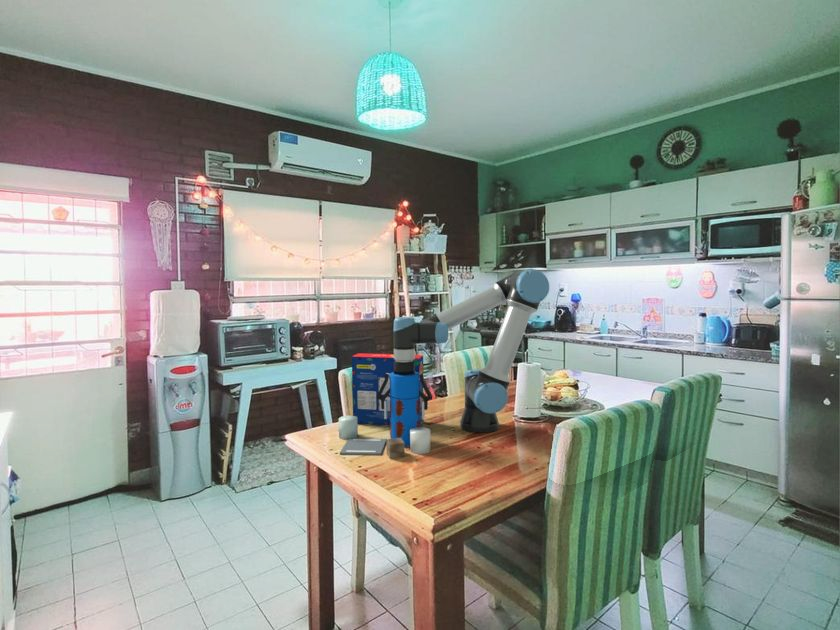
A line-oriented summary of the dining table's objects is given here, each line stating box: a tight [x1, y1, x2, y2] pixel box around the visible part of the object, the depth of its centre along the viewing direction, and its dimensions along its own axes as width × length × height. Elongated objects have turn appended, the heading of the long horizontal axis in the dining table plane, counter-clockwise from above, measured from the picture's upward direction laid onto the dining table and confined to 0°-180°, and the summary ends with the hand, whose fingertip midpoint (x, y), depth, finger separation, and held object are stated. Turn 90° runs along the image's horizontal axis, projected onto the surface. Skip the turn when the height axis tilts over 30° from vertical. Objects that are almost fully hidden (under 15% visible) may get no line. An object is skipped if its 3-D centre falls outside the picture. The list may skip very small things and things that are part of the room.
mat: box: [339, 438, 387, 456], centre depth 160 cm, size 14×14×1 cm
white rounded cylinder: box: [409, 426, 431, 455], centre depth 157 cm, size 7×7×7 cm
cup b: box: [338, 415, 359, 441], centre depth 171 cm, size 7×7×7 cm
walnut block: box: [385, 438, 406, 460], centre depth 152 cm, size 5×5×5 cm
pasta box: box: [351, 353, 425, 427], centre depth 187 cm, size 28×8×28 cm, turn 78°
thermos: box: [389, 372, 420, 448], centre depth 165 cm, size 11×11×25 cm
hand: (404, 418), depth 165 cm, fingers open, 13 cm apart
